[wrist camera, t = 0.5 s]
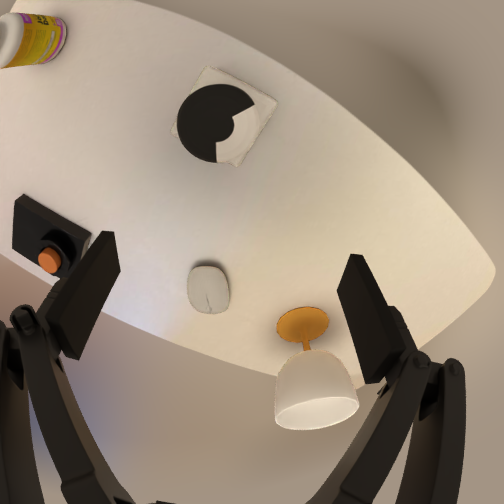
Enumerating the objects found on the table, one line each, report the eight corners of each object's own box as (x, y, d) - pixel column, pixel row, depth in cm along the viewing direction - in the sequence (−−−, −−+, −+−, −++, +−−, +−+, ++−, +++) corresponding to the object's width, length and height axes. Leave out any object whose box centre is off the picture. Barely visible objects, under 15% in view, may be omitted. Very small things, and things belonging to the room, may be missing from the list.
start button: (42, 260, 35) (37, 266, 34) (44, 243, 33) (38, 249, 32) (60, 270, 36) (55, 277, 35) (62, 254, 34) (57, 260, 33)
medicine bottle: (184, 122, 29) (151, 147, 19) (215, 67, 26) (195, 60, 16) (240, 150, 31) (236, 188, 21) (273, 98, 28) (287, 107, 18)
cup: (274, 298, 44) (284, 397, 30) (345, 302, 45) (374, 392, 31) (263, 344, 50) (267, 431, 36) (324, 346, 51) (341, 427, 37)
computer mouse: (193, 308, 45) (190, 322, 42) (186, 258, 39) (182, 271, 37) (230, 309, 45) (229, 324, 43) (228, 259, 40) (227, 272, 37)
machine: (19, 241, 37) (7, 254, 34) (23, 193, 32) (8, 205, 29) (80, 277, 41) (70, 293, 38) (91, 233, 37) (79, 248, 33)
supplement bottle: (76, 22, 20) (7, 15, 9) (54, 69, 23) (-17, 81, 13) (44, 13, 18) (-23, 9, 7) (24, 57, 21) (-44, 68, 10)
